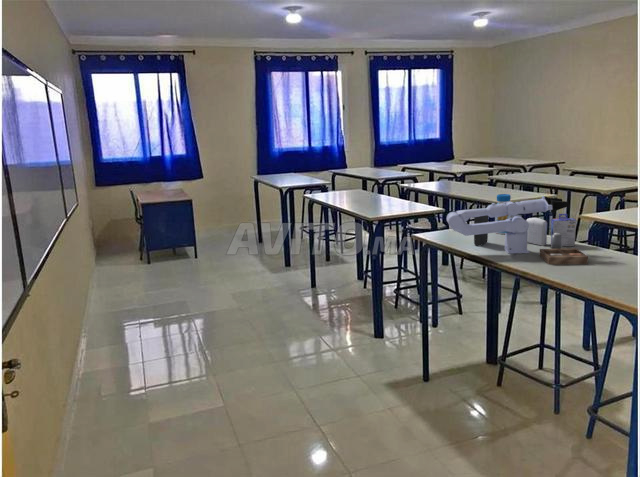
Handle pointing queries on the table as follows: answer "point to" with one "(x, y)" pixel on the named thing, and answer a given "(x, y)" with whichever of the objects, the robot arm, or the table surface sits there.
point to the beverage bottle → (500, 200)
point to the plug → (556, 241)
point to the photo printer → (537, 231)
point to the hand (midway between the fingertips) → (564, 202)
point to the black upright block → (480, 238)
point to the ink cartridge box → (564, 229)
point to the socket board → (563, 256)
